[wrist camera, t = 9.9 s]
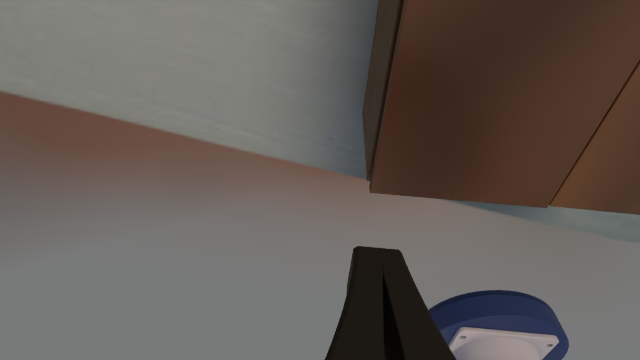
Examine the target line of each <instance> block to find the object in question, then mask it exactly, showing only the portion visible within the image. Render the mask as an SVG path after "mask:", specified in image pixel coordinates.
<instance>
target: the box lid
mask: <svg viewBox="0 0 640 360" xmlns="http://www.w3.org/2000/svg"><path fill="white" fill-rule="evenodd" d="M549 205H550V206H556V207H566V208H576V209H586V210H596V211H607V212H617V213H627V214H637V215H640V60H639V62H638V63H637V65H636V66H635V68H634V70H633V71H632V73H631V74H630V76H629V78H628V79H627V81H626V82H625V84H624V85H623V87H622V89H621V90H620V92H619V93H618V95H617V97H616V98H615V100H614V101H613V103H612V105H611V106H610V108H609V109H608V111H607V113H606V114H605V116H604V117H603V119H602V121H601V122H600V124H599V125H598V127H597V129H596V130H595V132H594V133H593V135H592V137H591V138H590V140H589V141H588V143H587V144H586V146H585V148H584V149H583V151H582V152H581V154H580V156H579V157H578V159H577V160H576V162H575V164H574V165H573V167H572V168H571V170H570V172H569V173H568V175H567V176H566V178H565V180H564V181H563V183H562V184H561V186H560V188H559V189H558V191H557V192H556V194H555V195H554V197H553V199H552V200H551V202H550V203H549Z"/></svg>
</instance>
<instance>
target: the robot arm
mask: <svg viewBox="0 0 640 360" xmlns="http://www.w3.org/2000/svg"><path fill="white" fill-rule="evenodd" d="M558 342H559V340H558V338H557V336H555V335H548V334H537V333H526V332H516V331H505V330H494V329H483V328H473V327H460V328H459V329H458V330H457V331H456V333H455V335H454V336H453V338H452V340H451V341H450V343H449V345H447V343H446V341H445V340H444V338H443V336H442V334H441V333H440V331H439V329H438V327H437V326H436V324H435V322H434V320H433V318H432V316H431V314H430V313H429V311H428V309H427V307H426V305H425V303H424V301H423V299H422V297H421V295H420V293H419V291H418V289H417V287H416V285H415V283H414V281H413V278H412V276H411V274H410V272H409V270H408V267H407V265H406V263H405V260H404V258H403V255H402V253H401V252H400V251H399V250H396V249H385V248H373V247H362V246H357V247H356V248H354V249H353V254H352V260H351V266H350V272H349V277H348V283H347V296H346V300H345V303H344V307H343V311H342V314H341V317H340V320H339V323H338V326H337V329H336V332H335V334H334V337H333V340H332V343H331V346H330V348H329V351H328V353H327V356H326V358H325V360H542V359H543V358H544V357H545V356H546V355H547V354H548V353H549V352H550V351H551V350H552V349H553V348H554V347H555V346H556V345H557V344H558Z"/></svg>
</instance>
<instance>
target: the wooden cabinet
mask: <svg viewBox="0 0 640 360" xmlns="http://www.w3.org/2000/svg"><path fill="white" fill-rule="evenodd" d="M639 60H640V0H379V4H378V11H377V18H376V25H375V32H374V38H373V45H372V52H371V59H370V66H369V73H368V80H367V87H366V94H365V101H364V107H363V129H364V143H365V158H366V173H367V181H370V193H379V194H391V195H403V196H415V197H425V198H437V199H449V200H460V201H472V202H484V203H495V204H507V205H519V206H530V207H542V208H547V207H548V205H549V203H550V202H551V200H552V199H553V197H554V195H555V194H556V192H557V191H558V189H559V188H560V186H561V184H562V183H563V181H564V180H565V178H566V176H567V175H568V173H569V172H570V170H571V168H572V167H573V165H574V164H575V162H576V160H577V159H578V157H579V156H580V154H581V152H582V151H583V149H584V148H585V146H586V144H587V143H588V141H589V140H590V138H591V137H592V135H593V133H594V132H595V130H596V129H597V127H598V125H599V124H600V122H601V121H602V119H603V117H604V116H605V114H606V113H607V111H608V109H609V108H610V106H611V105H612V103H613V101H614V100H615V98H616V97H617V95H618V93H619V92H620V90H621V89H622V87H623V85H624V84H625V82H626V81H627V79H628V78H629V76H630V74H631V73H632V71H633V70H634V68H635V66H636V65H637V63H638V62H639Z"/></svg>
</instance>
